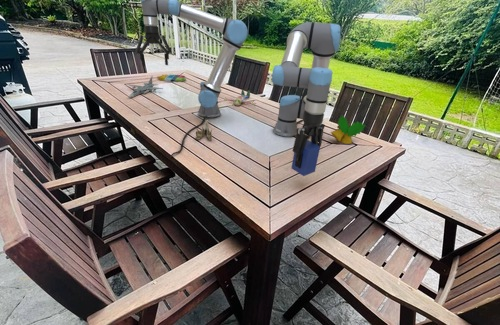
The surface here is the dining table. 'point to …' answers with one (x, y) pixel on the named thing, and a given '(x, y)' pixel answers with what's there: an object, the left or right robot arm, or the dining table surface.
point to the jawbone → (204, 132)
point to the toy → (241, 99)
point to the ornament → (347, 130)
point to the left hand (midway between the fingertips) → (155, 65)
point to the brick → (307, 159)
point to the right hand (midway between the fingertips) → (304, 164)
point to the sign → (172, 78)
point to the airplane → (143, 88)
